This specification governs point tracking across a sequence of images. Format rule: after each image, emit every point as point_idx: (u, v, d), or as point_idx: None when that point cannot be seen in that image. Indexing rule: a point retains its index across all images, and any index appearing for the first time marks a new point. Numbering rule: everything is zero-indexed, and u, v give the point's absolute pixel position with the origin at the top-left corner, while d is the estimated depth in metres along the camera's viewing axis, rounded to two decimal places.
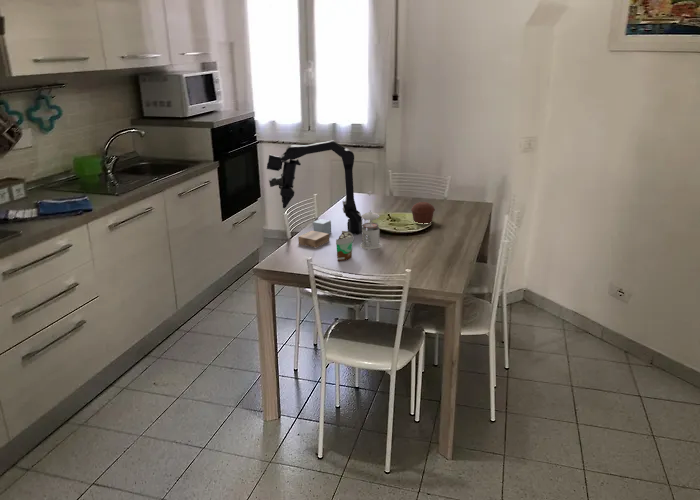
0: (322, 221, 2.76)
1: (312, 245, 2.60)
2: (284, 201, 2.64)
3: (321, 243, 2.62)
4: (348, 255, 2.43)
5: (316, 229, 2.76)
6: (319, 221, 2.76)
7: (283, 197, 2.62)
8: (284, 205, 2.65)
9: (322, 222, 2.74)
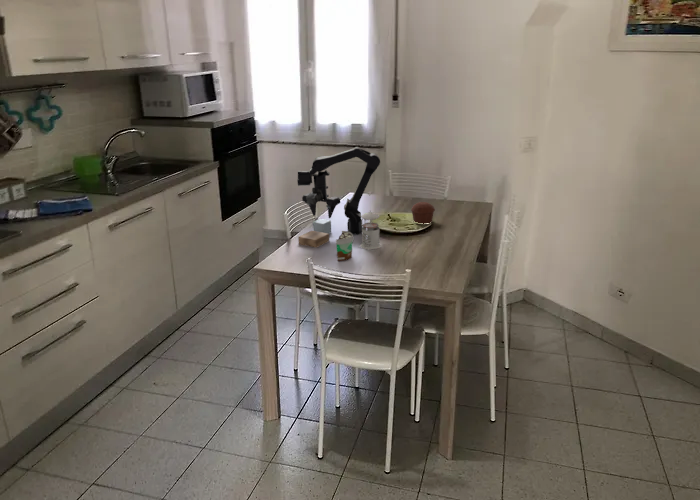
0: (322, 221, 2.76)
1: (313, 245, 2.60)
2: (330, 212, 2.71)
3: (321, 243, 2.62)
4: (348, 255, 2.43)
5: (316, 229, 2.76)
6: (319, 221, 2.76)
7: (330, 208, 2.69)
8: (330, 215, 2.72)
9: (322, 222, 2.74)
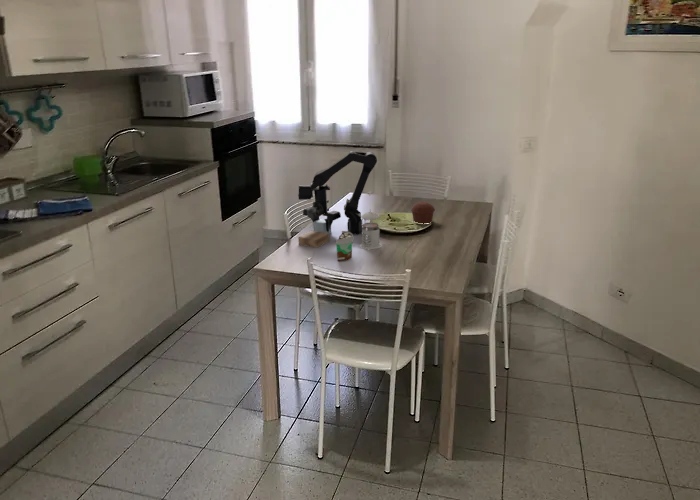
0: (322, 221, 2.76)
1: (313, 245, 2.60)
2: (328, 225, 2.74)
3: (321, 243, 2.62)
4: (348, 255, 2.43)
5: (316, 229, 2.76)
6: (319, 221, 2.76)
7: (328, 221, 2.72)
8: (328, 228, 2.75)
9: (322, 222, 2.74)
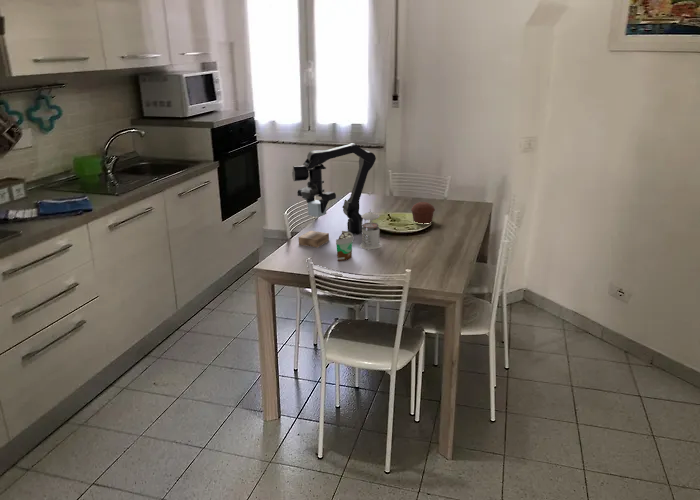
0: (317, 202, 2.67)
1: (314, 245, 2.60)
2: (323, 206, 2.65)
3: (322, 243, 2.62)
4: (348, 255, 2.43)
5: (311, 210, 2.67)
6: (314, 202, 2.67)
7: (323, 202, 2.63)
8: (323, 210, 2.66)
9: (317, 203, 2.65)
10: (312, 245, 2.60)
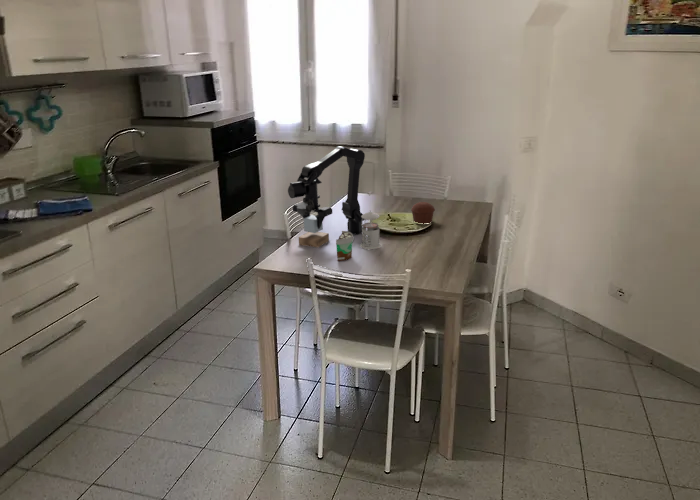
0: (313, 217, 2.61)
1: (314, 245, 2.60)
2: (319, 222, 2.59)
3: (322, 243, 2.62)
4: (348, 255, 2.43)
5: (306, 226, 2.61)
6: (310, 217, 2.61)
7: (319, 218, 2.57)
8: (319, 225, 2.60)
9: (313, 218, 2.59)
10: (312, 245, 2.60)
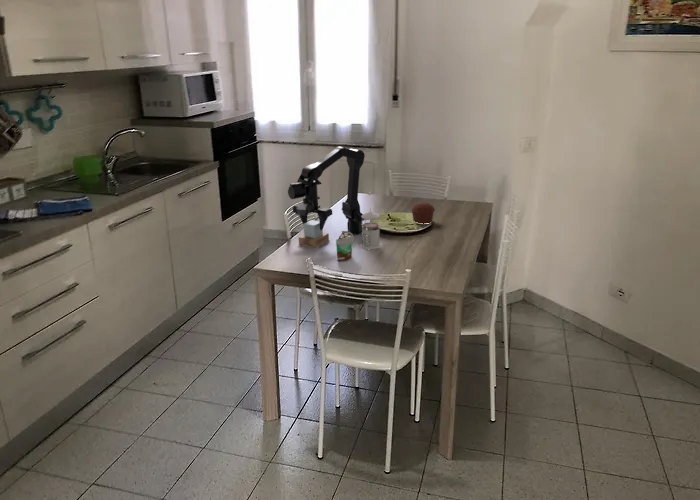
0: (313, 222, 2.62)
1: (314, 245, 2.60)
2: (322, 223, 2.58)
3: (322, 243, 2.62)
4: (348, 255, 2.43)
5: (307, 231, 2.62)
6: (310, 222, 2.62)
7: (322, 219, 2.57)
8: (322, 227, 2.60)
9: (313, 224, 2.60)
10: (313, 245, 2.60)
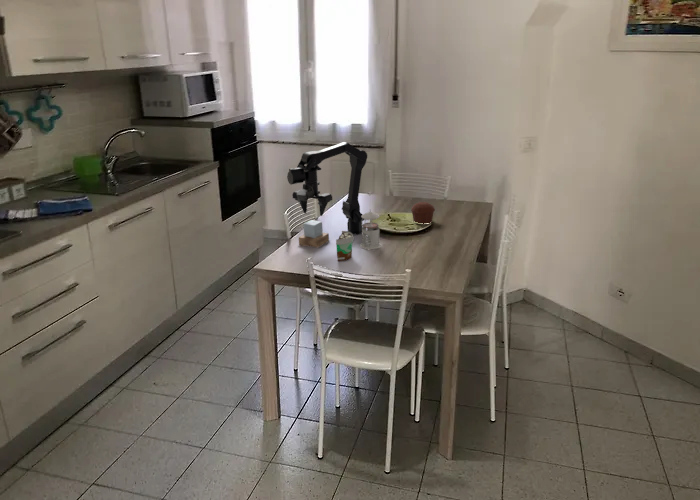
0: (313, 222, 2.62)
1: (314, 245, 2.60)
2: (322, 209, 2.58)
3: (322, 243, 2.62)
4: (348, 255, 2.43)
5: (307, 231, 2.62)
6: (310, 222, 2.62)
7: (322, 205, 2.57)
8: (322, 212, 2.60)
9: (313, 223, 2.60)
10: (313, 245, 2.60)
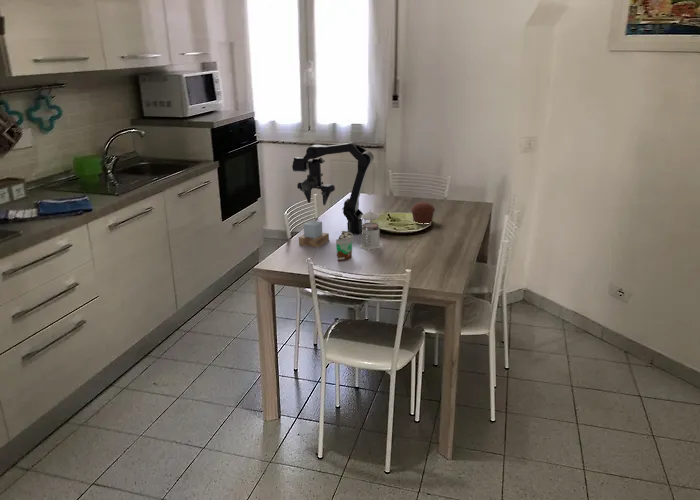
0: (313, 223, 2.61)
1: (314, 245, 2.60)
2: (325, 199, 2.74)
3: (322, 243, 2.62)
4: (348, 255, 2.43)
5: (307, 231, 2.61)
6: (310, 223, 2.61)
7: (325, 195, 2.72)
8: (325, 202, 2.75)
9: (313, 224, 2.60)
10: (313, 245, 2.60)
